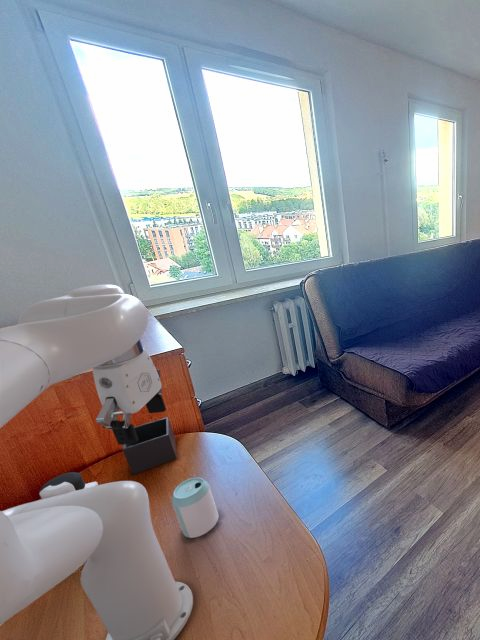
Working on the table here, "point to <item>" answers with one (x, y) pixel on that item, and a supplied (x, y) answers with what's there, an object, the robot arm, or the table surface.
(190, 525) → the can
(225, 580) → the table surface
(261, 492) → the table surface
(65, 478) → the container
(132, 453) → the bin
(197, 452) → the table surface
